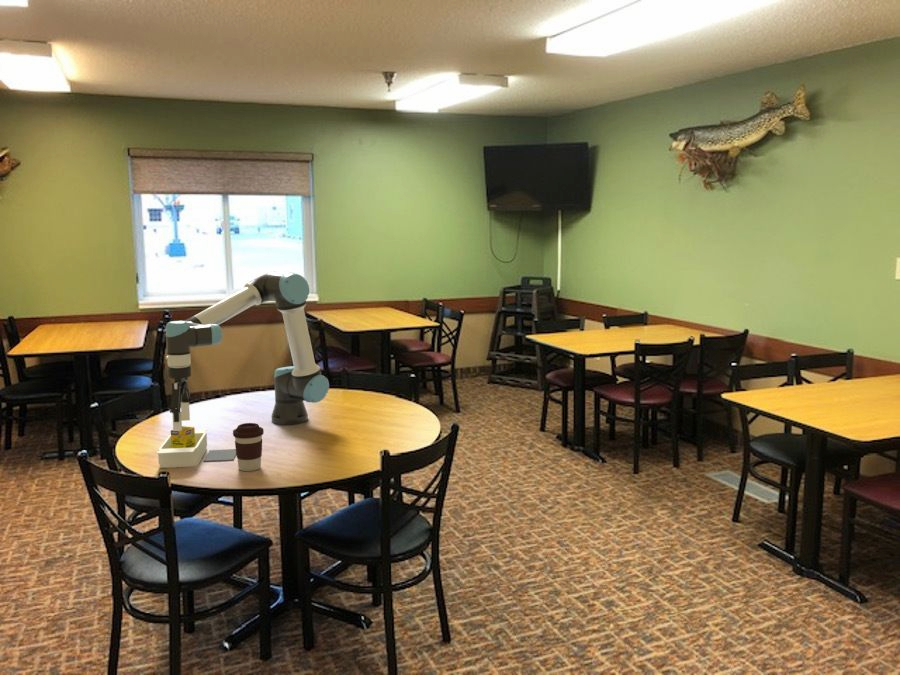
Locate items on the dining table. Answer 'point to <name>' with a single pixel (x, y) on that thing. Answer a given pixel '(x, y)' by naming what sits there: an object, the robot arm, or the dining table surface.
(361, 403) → the dining table surface
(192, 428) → the supplement box
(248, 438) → the coffee cup
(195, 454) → the carton
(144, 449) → the dining table surface
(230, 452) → the mat
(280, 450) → the dining table surface
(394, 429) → the dining table surface
